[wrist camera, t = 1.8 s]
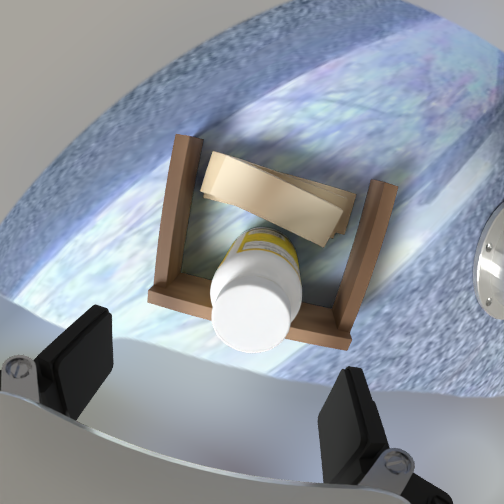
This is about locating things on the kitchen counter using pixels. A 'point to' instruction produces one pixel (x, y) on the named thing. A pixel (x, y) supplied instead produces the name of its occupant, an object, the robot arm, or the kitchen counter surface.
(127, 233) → the kitchen counter surface
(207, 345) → the kitchen counter surface
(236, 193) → the top offcut
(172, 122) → the kitchen counter surface
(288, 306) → the supplement bottle
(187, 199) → the walnut rack
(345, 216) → the bottom offcut
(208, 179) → the middle offcut
